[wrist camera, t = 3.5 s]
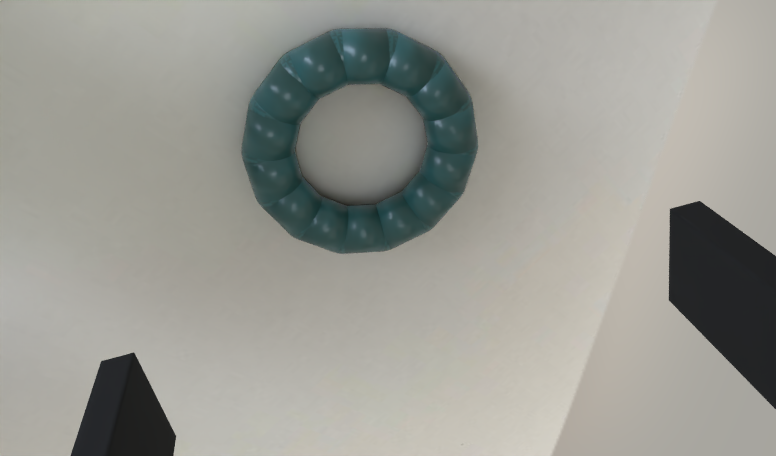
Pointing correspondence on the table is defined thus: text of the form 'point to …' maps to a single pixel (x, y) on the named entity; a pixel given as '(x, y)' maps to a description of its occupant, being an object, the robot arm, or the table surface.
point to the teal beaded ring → (327, 74)
